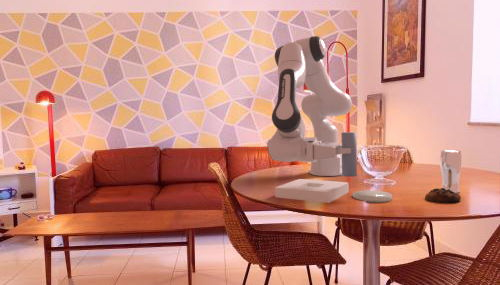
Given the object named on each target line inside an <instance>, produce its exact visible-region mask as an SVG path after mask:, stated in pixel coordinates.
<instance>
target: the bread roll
mask: <svg viewBox="0 0 500 285" xmlns="http://www.w3.org/2000/svg"><path fill="white" fill-rule="evenodd" d="M424 199H425V200H427V201H430V202H434V203H440V204H456V202H457V203H460V200H461V195H460V194H459V193H455V192H452V191H451V190H449V189H447V190H445V188H442V187H441V188H439V187H438V188H433V189H431V190H430V191H428V192H427V193H426V194H425V196H424Z"/></svg>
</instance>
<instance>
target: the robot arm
mask: <svg viewBox="0 0 500 285" xmlns="http://www.w3.org/2000/svg"><path fill="white" fill-rule="evenodd" d="M326 51H327V50H326V45H325V42H324V40H323V39H322V37H320V36H318V35H314V36H312V35H311V36H310V37H306V38H302V39H297V40H295V41H293V42H287V43H285V44H283V45H281V46H279V47H278V48H277V49H276V50H275V52H274V60H275V64H276V66H277V78H278V89H277V90H278V91H277V101H276V104H275V106H274V108H273V111H272V114H271V121H272V123H273V125H274V127H275V128H276V131H275V133H274V134H273V136H271V138H270V139H268V140H267V143H266V148H267V151H268V152H267V153H268V155H269V157H270V158H271V159H272V160H273V161H276V162H285V163H293V162H301V163H310V170H308V171H307V173H308V174H311V175H313V176H319V177H334V176H335V177H336V176H342V154H350V153H351V148H342V143H340V142H339V130H338V128H337V126H336V125H335V124H333V123H332V122H330V119H329V117H339V116H343V115H347V114H349V113H350V111H351V110H352V108H353V107H352V106H353V100H352V98H351V96H350V95H349V94H348V93H346V92H343V91H342V90H341V89H339V88H338V87H337V86H336V84H334V82H332V80H331V78H330V76H329V74H328V72H327V68H326V66H325V64H324V61H323V59H324V58H325V57H326V53H327V52H326ZM303 85H305V87H306V89H307V90H308V91H309V92H311V93H312V94H308V95H305V96H304V97H303V98H302V101H301V104H300V105H301V111H302V112H303V114H305V115H306V117H308V119H309V120H310V122H311V124H312V127H313V134H314V137H305V132H306V126H305V123H304V121H303V118H302V116H301V115H302V114H301V111H300V109H299V107H298V105H297V102H296V96H297V93H296V92H297V89H299V88H300V87H302V86H303Z"/></svg>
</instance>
